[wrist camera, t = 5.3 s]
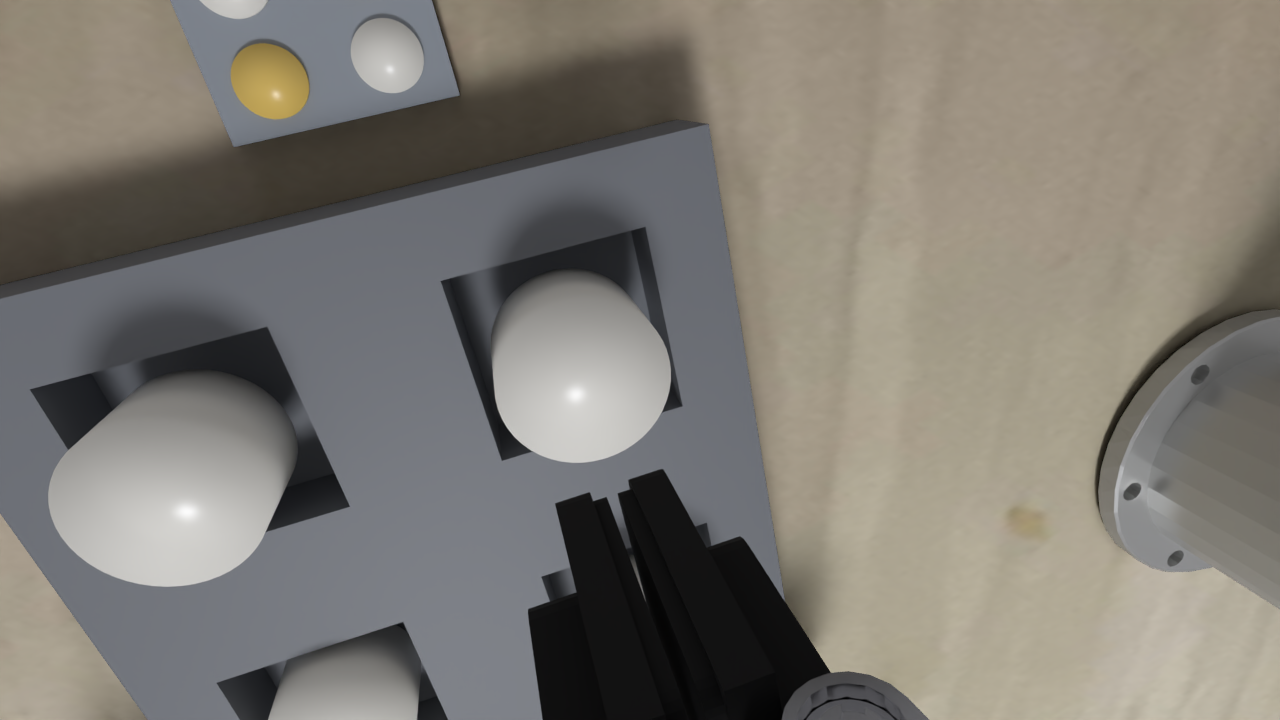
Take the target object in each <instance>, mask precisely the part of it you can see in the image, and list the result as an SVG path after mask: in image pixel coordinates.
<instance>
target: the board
mask: <svg viewBox="0 0 1280 720" xmlns="http://www.w3.org/2000/svg"><path fill="white" fill-rule="evenodd" d="M568 268H573V269H583V270H588V271H592V272H595V273H598V274H601V275H603V276H605V277H607V278H609V279H610V280H612V281H613V282H615V283H616V284H618V285H619V286H620V287H621V288H622V289H623V290H624V291H625V292H626V293H627V294H628V295H629V296H630V298H631V299H632V300H633V301H634V303H635V304H636V305H637V307H638V308H639V309H640V310H641V312H642V313H643V314H644V315H645V317H646V318H647V319H648V320H649V322H650V323H651V324H652V326H653V327H654V328H655V329H656V331H657V332H658V334H659V335H660V337H661V339H662V340H663V342H664V345H665V347H666V349H667V353H668V356H669V360H670V367H671V383H670V390H669V394H668V398H667V401H666V404H665V406H664V408H663V411H662V413H661V414H660V416H659V418H658V419H657V421H656V422H655V424H654V425H653V426H652V428H651V429H650V430H649V431H648V432H647V433H646V434H645V435H644V436H643V437H642V438H641V439H640V440H639V441H637V442H636V443H635V444H633V445H632V446H630V447H629V448H627V449H626V450H624V451H622V452H620V453H618V454H616V455H613V456H611V457H608V458H605V459H601V460H597V461H592V462H585V463H570V462H561V461H557V460H552V459H549V458H546V457H544V456H541V455H539V454H537V453H535V452H533V451H531V450H530V449H528V448H527V447H525V446H524V445H523V444H521V443H520V442H519V441H518V440H517V439H516V438H515V437H514V436H513V435H512V433H511V432H510V431H509V430H508V429H507V427H506V425H505V423H504V422H503V420H502V418H501V416H500V413H499V411H498V408H497V404H496V400H495V391H494V380H493V369H492V358H491V346H490V345H491V333H492V328H493V324H494V321H495V318H496V316H497V314H498V312H499V310H500V308H501V306H502V305H503V303H504V302H505V300H506V299H507V298H508V297H509V296H510V295H511V293H512V292H513V291H514V290H516V289H517V288H518V287H519V286H520V285H522V284H523V283H525V282H526V281H528V280H529V279H531V278H533V277H535V276H537V275H539V274H542V273H545V272H548V271H552V270H557V269H568ZM191 369H203V370H213V371H220V372H224V373H229V374H232V375H235V376H238V377H241V378H243V379H245V380H247V381H250V382H252V383H254V384H255V385H257V386H259V387H260V388H262V389H263V390H265V391H266V392H267V393H268V394H270V395H271V396H272V397H273V398H274V399H275V400H276V401H277V402H278V403H279V404H280V405H281V406H282V407H283V409H284V410H285V411H286V413H287V414H288V416H289V418H290V420H291V421H292V424H293V426H294V429H295V432H296V436H297V441H298V455H297V461H296V465H295V469H294V471H293V473H292V475H291V478H290V480H289V482H288V484H287V486H286V488H285V491H284V493H283V495H282V497H281V499H280V502H279V504H278V506H277V508H276V510H275V512H274V515H273V517H272V519H271V521H270V523H269V526H268V528H267V530H266V532H265V534H264V536H263V539H262V540H261V542H260V544H259V545H258V547H257V548H256V549H255V551H254V552H253V553H252V554H251V555H250V556H249V557H248V558H247V559H246V560H245V561H244V562H242V563H241V564H240V565H239V566H237V567H236V568H234V569H232V570H231V571H229V572H227V573H225V574H223V575H221V576H219V577H216V578H214V579H211V580H208V581H205V582H201V583H197V584H192V585H185V586H172V587H162V586H149V585H142V584H137V583H133V582H128V581H125V580H122V579H119V578H116V577H113V576H111V575H109V574H106V573H104V572H102V571H100V570H98V569H97V568H95V567H93V566H92V565H90V564H88V563H87V562H86V561H84V560H83V559H82V558H80V557H79V556H78V555H77V554H76V553H75V552H74V551H73V550H72V549H71V548H70V547H69V546H68V545H67V544H66V543H65V541H64V540H63V539H62V538H61V536H60V534H59V533H58V531H57V529H56V527H55V525H54V523H53V520H52V517H51V514H50V509H49V505H48V491H49V485H50V480H51V477H52V475H53V472H54V470H55V468H56V466H57V464H58V463H59V461H60V460H61V458H62V457H63V456H64V455H65V453H66V452H67V451H68V450H69V449H70V448H71V447H73V446H74V445H75V444H76V443H77V442H78V441H79V440H80V439H81V438H83V437H84V436H85V435H86V434H87V433H88V432H89V431H90V430H91V429H93V428H94V427H95V426H96V425H97V424H98V423H99V422H100V421H101V420H103V419H104V418H105V417H106V416H107V415H108V414H109V413H110V412H111V411H113V410H114V409H115V408H116V407H117V406H118V405H119V404H120V403H121V402H123V401H124V400H125V399H126V398H127V397H128V396H129V395H130V394H131V393H133V392H134V391H135V390H136V389H137V388H138V387H140V386H141V385H143V384H144V383H146V382H148V381H150V380H152V379H154V378H156V377H158V376H161V375H164V374H167V373H171V372H176V371H181V370H191ZM659 469H664V471H665V473H666V474H667V476H668V478H669V480H670V482H671V483H672V485H673V487H674V489H675V491H676V493H677V494H678V496H679V498H680V500H681V502H682V503H683V505H684V507H685V509H686V511H687V513H688V514H689V516H690V518H691V520H692V522H693V523H694V525H695V527H696V529H697V531H698V533H699V534H700V536H701V538H702V540H703V542H704V543H705V545H706V547H710V546H713V545H715V544H718V543H721V542H724V541H727V540H730V539H733V538H736V537H739V536H740V537H742V538H744V540H745V541H746V542H747V544H748V545H749V547H750V548H751V550H752V551H753V553H754V554H755V556H756V557H757V559H758V561H759V562H760V564H761V565H762V567H763V568H764V570H765V571H766V573H767V575H768V576H769V578H770V579H771V581H772V582H773V584H774V585H775V587H776V589H777V590H778V592H779V593H780V595H781V596H782V598H783V599H784V601H785V598H784V592H783V586H782V579H781V573H780V567H779V561H778V554H777V548H776V542H775V536H774V529H773V523H772V517H771V511H770V505H769V498H768V492H767V486H766V480H765V473H764V467H763V461H762V455H761V448H760V442H759V436H758V430H757V423H756V417H755V411H754V405H753V398H752V392H751V386H750V380H749V373H748V367H747V361H746V355H745V348H744V342H743V336H742V330H741V323H740V317H739V311H738V305H737V298H736V292H735V286H734V280H733V274H732V267H731V261H730V255H729V249H728V242H727V236H726V230H725V224H724V217H723V211H722V205H721V199H720V192H719V186H718V180H717V174H716V167H715V161H714V155H713V149H712V142H711V136H710V130H709V124H704V123H697V122H690V121H683V120H674V121H670V122H666V123H662V124H657V125H653V126H649V127H645V128H641V129H637V130H633V131H629V132H625V133H621V134H617V135H612V136H608V137H604V138H600V139H596V140H592V141H588V142H584V143H580V144H576V145H572V146H567V147H563V148H559V149H555V150H551V151H547V152H543V153H539V154H535V155H531V156H527V157H522V158H518V159H514V160H510V161H506V162H502V163H498V164H494V165H490V166H486V167H481V168H477V169H473V170H469V171H465V172H461V173H457V174H453V175H449V176H445V177H441V178H436V179H432V180H428V181H424V182H420V183H416V184H412V185H408V186H404V187H400V188H396V189H391V190H387V191H383V192H379V193H375V194H371V195H367V196H363V197H359V198H355V199H350V200H346V201H342V202H338V203H334V204H330V205H326V206H322V207H318V208H314V209H310V210H305V211H301V212H297V213H293V214H289V215H285V216H281V217H277V218H273V219H269V220H265V221H260V222H256V223H252V224H248V225H244V226H240V227H236V228H232V229H228V230H224V231H220V232H215V233H211V234H207V235H203V236H199V237H195V238H191V239H187V240H183V241H179V242H174V243H170V244H166V245H162V246H158V247H154V248H150V249H146V250H142V251H138V252H134V253H129V254H125V255H121V256H117V257H113V258H109V259H105V260H101V261H97V262H93V263H89V264H84V265H80V266H76V267H72V268H68V269H64V270H60V271H56V272H52V273H48V274H43V275H39V276H35V277H31V278H27V279H23V280H19V281H15V282H11V283H7V284H3V285H0V514H1V515H2V517H3V518H4V519H5V521H6V522H7V524H8V525H9V526H10V528H11V529H12V531H13V532H14V533H15V535H16V536H17V538H18V539H19V540H20V542H21V543H22V545H23V546H24V547H25V549H26V550H27V552H28V553H29V554H30V556H31V557H32V559H33V560H34V561H35V563H36V564H37V566H38V567H39V568H40V570H41V571H42V573H43V574H44V575H45V577H46V578H47V580H48V581H49V582H50V584H51V585H52V587H53V588H54V589H55V591H56V592H57V594H58V595H59V596H60V598H61V599H62V601H63V602H64V603H65V605H66V606H67V608H68V609H69V610H70V612H71V613H72V615H73V616H74V617H75V619H76V620H77V622H78V623H79V624H80V626H81V627H82V629H83V630H84V631H85V633H86V634H87V636H88V637H89V638H90V640H91V641H92V643H93V644H94V645H95V647H96V648H97V650H98V651H99V652H100V654H101V655H102V657H103V658H104V659H105V661H106V662H107V664H108V665H109V666H110V668H111V669H112V671H113V672H114V673H115V675H116V676H117V678H118V679H119V680H120V682H121V683H122V685H123V686H124V687H125V689H126V690H127V692H128V693H129V694H130V696H131V697H132V699H133V700H134V701H135V703H136V704H137V706H138V707H139V708H140V710H141V711H142V713H143V714H144V715H145V717H146V718H147V720H268V718H269V715H270V712H271V709H272V705H273V702H274V699H275V696H276V693H277V690H278V687H279V683H280V680H281V677H282V674H283V671H284V668H285V664H286V661H287V660H288V659H291V658H294V657H297V656H300V655H303V654H306V653H309V652H312V651H315V650H318V649H321V648H324V647H327V646H331V645H334V644H337V643H340V642H343V641H346V640H349V639H352V638H355V637H358V636H361V635H364V634H367V633H370V632H373V631H376V630H380V629H383V628H386V627H389V626H392V625H397V626H399V627H400V628H402V629H403V630H405V631H406V632H407V633H408V634H409V636H410V638H411V640H412V642H413V644H414V647H415V649H416V651H417V653H418V655H419V657H420V660H421V677H420V689H419V702H418V714H417V720H543V719H542V712H541V705H540V698H539V691H538V684H537V676H536V669H535V662H534V655H533V648H532V641H531V634H530V627H529V619H528V609H529V608H532V607H535V606H538V605H541V604H544V603H547V602H550V601H553V600H555V599H558V598H561V597H564V596H567V595H570V594H573V593H576V588H575V584H574V580H573V576H572V572H571V568H570V564H569V559H568V555H567V551H566V547H565V543H564V539H563V535H562V531H561V527H560V522H559V518H558V514H557V510H556V506H555V503H557V502H560V501H563V500H567V499H570V498H573V497H576V496H579V495H582V494H585V493H588V492H590V493H591V496H592V499H593V501H595V500H598V499H602V498H605V497H607V499H608V501H609V504H610V507H611V510H612V512H613V515H614V518H615V520H616V523H617V526H618V528H619V531H620V534H621V536H622V539H623V542H624V544H625V547H626V550H627V552H628V555H633V551H632V547H631V544H630V540H629V536H628V532H627V529H626V525H625V521H624V517H623V514H622V510H621V506H620V502H619V498H618V493H620V492H623V491H626V490H629V489H630V488H629V483H628V480H629V479H632V478H635V477H638V476H641V475H644V474H647V473H650V472H653V471H656V470H659Z"/></svg>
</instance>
